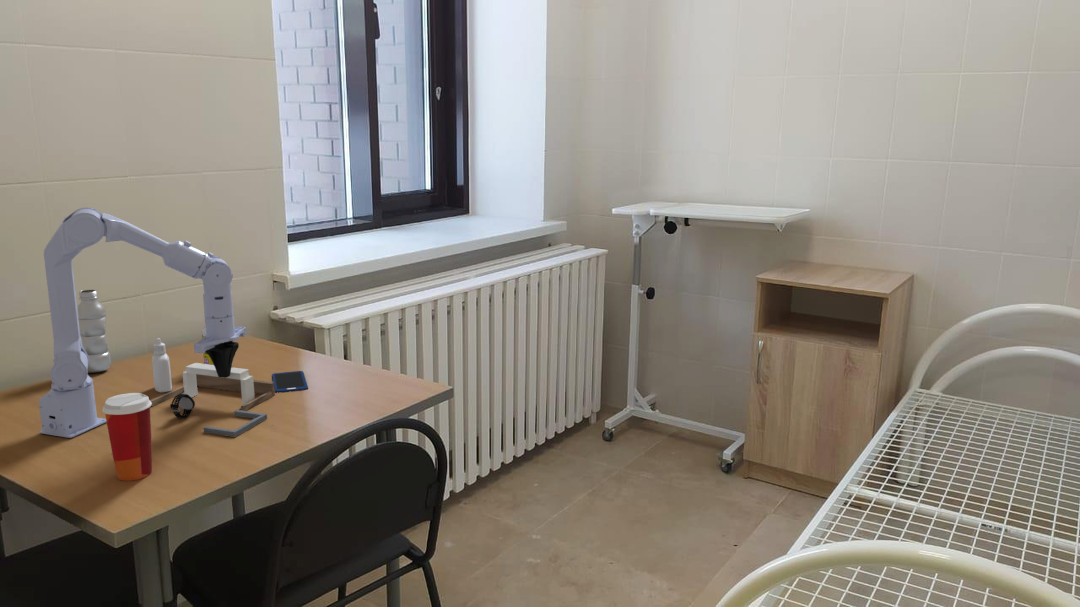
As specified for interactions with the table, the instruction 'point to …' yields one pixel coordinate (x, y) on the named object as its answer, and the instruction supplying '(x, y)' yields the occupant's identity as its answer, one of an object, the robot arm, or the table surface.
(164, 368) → the eye dropper bottle
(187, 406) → the smartwatch
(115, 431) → the paper cup
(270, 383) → the track
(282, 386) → the cell phone
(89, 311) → the plastic bottle
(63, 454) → the table surface
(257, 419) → the frame
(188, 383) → the clamp arch
